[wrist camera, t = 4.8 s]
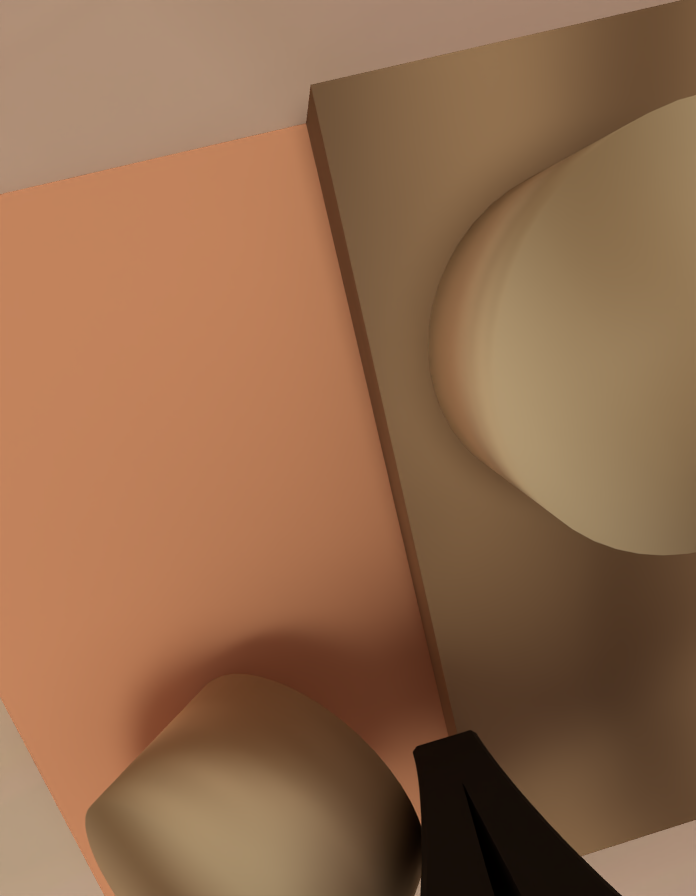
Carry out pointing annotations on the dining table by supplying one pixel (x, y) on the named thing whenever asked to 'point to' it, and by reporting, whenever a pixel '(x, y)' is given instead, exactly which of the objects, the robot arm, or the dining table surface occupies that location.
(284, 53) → the dining table surface
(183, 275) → the mat
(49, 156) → the dining table surface
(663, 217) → the coaster
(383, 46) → the dining table surface
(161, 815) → the coaster
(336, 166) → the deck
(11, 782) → the dining table surface
